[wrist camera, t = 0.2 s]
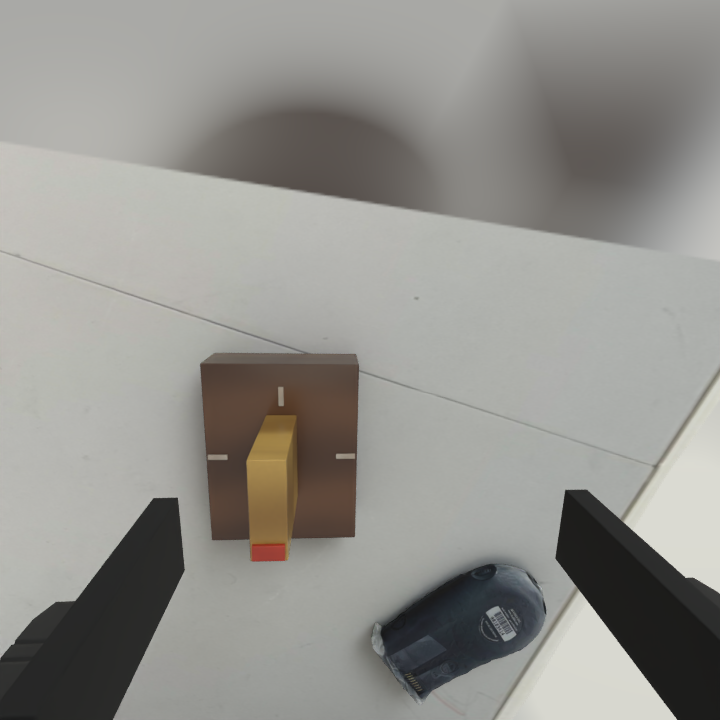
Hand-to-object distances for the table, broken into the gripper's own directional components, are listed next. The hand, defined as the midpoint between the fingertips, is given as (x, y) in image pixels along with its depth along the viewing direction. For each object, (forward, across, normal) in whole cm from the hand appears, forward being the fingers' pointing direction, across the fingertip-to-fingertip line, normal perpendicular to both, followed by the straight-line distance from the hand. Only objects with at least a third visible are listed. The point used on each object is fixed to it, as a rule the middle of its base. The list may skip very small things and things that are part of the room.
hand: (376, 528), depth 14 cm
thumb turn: (+16, -5, -5) cm, 18 cm away
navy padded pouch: (+20, +11, -23) cm, 32 cm away
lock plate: (+20, -5, -5) cm, 21 cm away
